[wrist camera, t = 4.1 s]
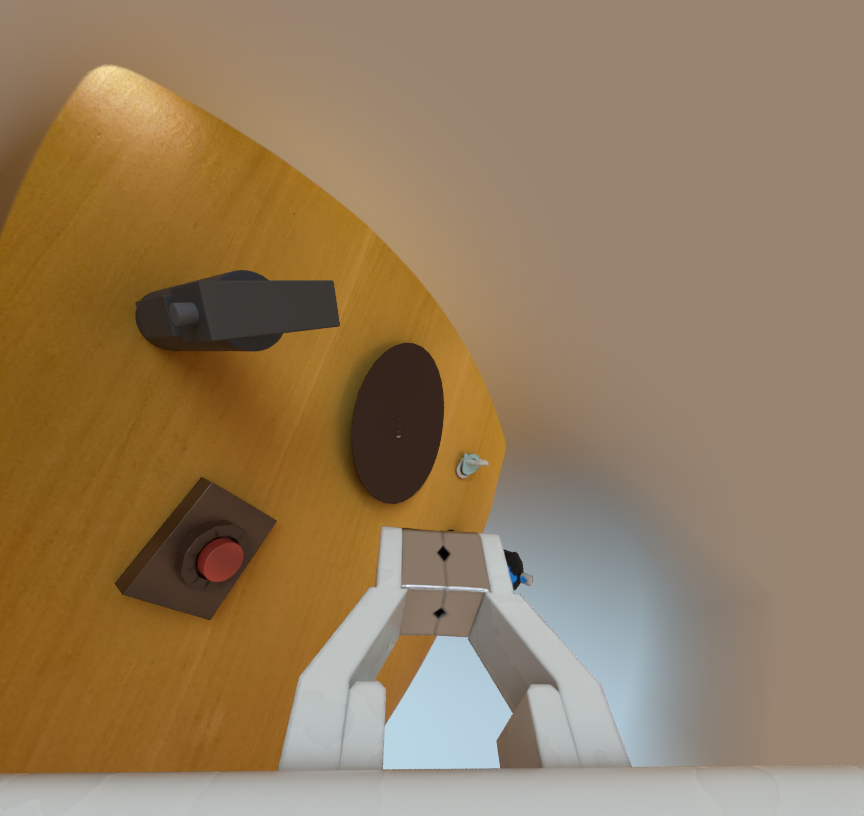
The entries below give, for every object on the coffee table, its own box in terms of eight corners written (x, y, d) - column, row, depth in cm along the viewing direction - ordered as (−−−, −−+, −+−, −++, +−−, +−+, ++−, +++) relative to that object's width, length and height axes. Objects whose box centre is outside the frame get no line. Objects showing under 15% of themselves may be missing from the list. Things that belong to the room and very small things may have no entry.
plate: (438, 484, 79) (453, 488, 77) (330, 517, 57) (346, 524, 55) (448, 352, 77) (463, 352, 75) (340, 331, 55) (357, 330, 53)
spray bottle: (92, 361, 34) (199, 370, 20) (70, 291, 32) (169, 251, 19) (209, 346, 41) (343, 345, 28) (196, 289, 40) (330, 259, 26)
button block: (200, 610, 43) (217, 627, 40) (114, 583, 36) (128, 602, 34) (265, 515, 48) (285, 525, 46) (201, 477, 42) (219, 486, 39)
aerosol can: (457, 525, 87) (540, 553, 75) (455, 559, 88) (537, 592, 76) (436, 535, 81) (524, 568, 69) (434, 572, 81) (520, 611, 69)
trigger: (145, 337, 26) (173, 336, 23) (134, 302, 25) (163, 295, 22) (170, 335, 27) (201, 333, 24) (162, 300, 27) (192, 294, 23)
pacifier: (468, 478, 89) (473, 453, 90) (491, 484, 86) (496, 458, 86) (451, 477, 83) (457, 451, 84) (475, 484, 80) (481, 456, 80)
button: (219, 581, 40) (226, 587, 39) (187, 568, 38) (194, 575, 37) (243, 545, 42) (251, 551, 41) (214, 531, 40) (222, 536, 39)
